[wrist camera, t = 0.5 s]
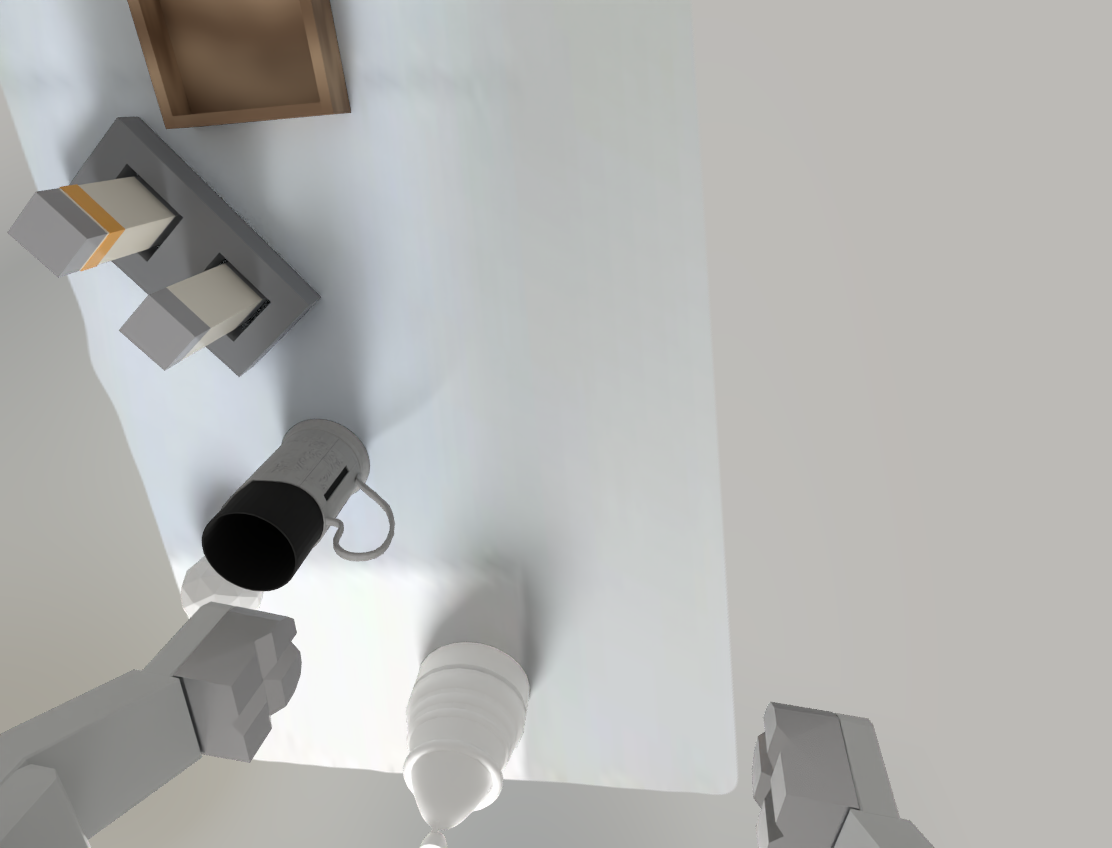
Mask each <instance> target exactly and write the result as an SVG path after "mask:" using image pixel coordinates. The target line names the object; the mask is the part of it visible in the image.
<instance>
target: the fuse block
mask: <svg viewBox="0 0 1112 848" xmlns="http://www.w3.org/2000/svg"><path fill="white" fill-rule="evenodd" d="M137 174H138V175H139V176H140V177H141V178H142V179H144V180H145V181H146V182H147V183H148V184H149V185H150V186H151V187H152V188H153V189H154V190H155V191H156V192H157V193H158V194H159V195H160V196H161V197H162V198H163V199H164V200H165V201H166V202H167V203H168V204H170V205H171V206H172V207H173V208H174V209H175V210H176V211H177V212H178V213H179V214H180V215H181V216H182V217H183V219H182V220H181V221H180V223H179V224H178V225H177V226H176V227H175V229H174V230H173V231H172V232H171V234H170V235H169V236H168V237H167V238H166V240H165V241H164V242H163V243H162V245H161V246H160V247H159V248H157V247H153V248H150V249H146V250H143V251H140V252H137V253H134V254H131V255H127V256H124V257H121V258H118V259H115V260H112V262H113V263H114V264H115V265H116V266H117V267H119V268H120V269H121V270H122V271H123V272H124V273H125V274H126V275H127V276H128V277H130V278H131V279H132V280H133V281H134V282H135V283H136V284H137V285H138V286H139V287H141V288H142V289H143V290H144V291H145V292H146V293H147V294H148V295H149V294H151V293H154V292H156V291H159V290H161V289H164V288H166V287H168V286H171V285H173V284H176V283H178V282H180V281H183V280H185V279H188V278H190V277H193V276H195V275H197V274H200V273H202V272H205V271H207V270H209V269H212V268H214V267H217V266H218V265H219V264H220V263H221V262H222V261H223V260H224V259H225V258H226V259H227V260H228V261H229V262H230V263H231V264H232V265H233V266H234V267H235V268H236V269H237V270H238V271H239V272H240V273H241V274H242V275H243V276H244V277H245V278H247V279H248V280H249V281H250V282H251V283H252V284H253V285H254V286H255V287H256V288H257V289H258V290H259V291H260V292H261V293H262V294H263V295H264V296H265V297H266V298H267V299H268V300H269V301H270V302H271V303H270V304H269V305H268V306H267V307H266V308H265V309H264V310H263V311H262V312H261V313H260V314H259V315H258V316H257V318H256V319H255V320H254V321H253V322H252V323H251V324H250V325H249V326H248V327H247V328H246V329H245V330H244V329H243V328H242V327H241V326H239V327H237V328H236V329H234V330H232V331H231V332H229V333H227V334H226V335H224V336H222V337H221V338H219V339H217V340H216V341H214V342H212V343H210V344H209V345H207V346H206V347H207V348H208V349H209V350H210V351H211V352H212V353H213V354H214V355H216V356H217V357H218V358H219V359H220V360H221V361H222V362H223V363H224V364H225V365H227V366H228V367H229V368H230V369H231V370H232V371H233V372H234V373H235V374H236V375H238V376H239V377H240V376H241V375H242V374H244V373H245V372H247V371H248V370H249V369H251V368H252V367H253V366H254V365H255V364H256V363H257V362H258V361H259V360H260V359H261V358H262V357H263V356H264V355H265V354H266V353H267V352H268V351H269V350H270V349H271V348H272V347H273V346H274V345H275V344H276V343H277V342H278V341H279V340H280V339H281V338H282V337H283V336H284V335H285V334H286V333H287V332H288V331H289V330H290V329H291V327H292V326H293V325H294V324H295V323H296V322H297V321H298V320H299V319H300V318H301V317H302V316H303V315H304V314H305V313H306V312H307V311H308V310H309V309H310V308H311V307H312V306H313V305H314V304H315V303H316V302H317V301H318V300H319V299H320V298H321V297H320V296H319V295H318V294H317V293H316V292H315V291H314V290H313V289H312V288H311V287H310V286H309V285H308V284H307V283H306V282H305V281H304V280H303V279H302V278H301V277H300V276H299V275H298V274H297V273H296V272H295V271H294V270H293V269H292V268H291V267H290V266H289V265H288V264H287V263H286V262H285V261H284V260H283V259H282V258H281V257H280V256H279V255H278V254H277V253H276V252H275V251H274V250H273V249H272V248H271V247H270V246H269V245H268V244H267V243H266V242H265V241H264V240H263V239H262V238H261V237H260V236H259V235H258V234H257V233H256V232H255V231H254V230H253V229H252V228H251V227H250V226H249V225H248V224H247V223H245V222H244V221H243V220H242V219H241V218H240V217H239V216H238V215H237V214H236V213H235V212H234V211H233V210H232V209H231V208H230V207H229V206H228V205H227V204H226V203H225V202H224V201H223V200H222V199H221V198H220V197H219V196H218V195H217V194H216V193H215V192H214V191H213V190H212V189H211V188H210V187H209V186H208V185H207V184H206V183H205V182H204V181H203V180H202V179H201V178H200V177H199V176H198V175H197V174H196V173H195V172H194V171H193V170H192V169H191V168H190V167H189V166H188V165H187V164H186V163H185V162H184V161H183V160H182V159H181V158H180V157H179V156H178V155H177V154H176V153H175V152H174V151H173V150H172V149H171V148H170V147H169V146H168V145H167V144H166V143H165V142H164V141H163V140H162V139H161V138H160V137H159V136H158V135H157V134H155V133H154V132H153V131H152V130H151V129H150V128H149V127H148V126H147V125H146V124H145V123H144V122H143V121H142V120H141V119H140V118H139V117H118V118H117V119H116V120H115V121H114V123H113V124H112V126H111V127H110V129H109V130H108V131H107V133H106V134H105V136H104V137H103V138H102V140H101V141H100V143H99V144H98V145H97V147H96V148H95V150H94V151H93V152H92V154H91V155H90V157H89V158H88V159H87V161H86V162H85V164H84V165H83V166H82V168H81V169H80V171H79V172H78V173H77V175H76V176H75V178H74V179H73V180H72V182H71V183H70V185H76V184H77V185H82V184H89V183H95V182H101V181H108V180H114V179H120V178H126V177H133V176H136V175H137Z"/></svg>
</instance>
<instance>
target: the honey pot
mask: <svg viewBox="0 0 1112 848" xmlns="http://www.w3.org/2000/svg"><path fill="white" fill-rule="evenodd" d="M529 690H530V685H529V682H528V678H527V675H526V673H525V672H524V670H523V669H522V667H521V666H520V664H518V663H517V662H516V661H515V660H514V659H513V658H512V657H511V656H510V655H508V654H506V653H504V652H503V651H501V650H499V649H497V648H494V647H491V646H488V645H485V644H482V643H473V642H460V643H451V644H448V645H445V646H442V647H439V648H438V649H436V650H435V651H433V652H432V653H430V654H429V655H428V656H427V658H426V659H425V660H424V661H423V662H422V665H421V667H420V670H419V673H418V676H417V679H416V682H415V684H414V687H413V690H412V693H411V696H410V699H409V702H408V705H407V708H406V722H407V749H408V752H409V755H408V756H407V757H406V760H405V763H404V766H403V776H404V779H405V782H406V784H407V786H408V788H409V789H410V790H411V792H412V793H413V794H414V795H415V799H416V803H417V806H418V808H419V810H420V813H421V815H422V817H423V819H424V820H425V821H426V822H427V824H428V825H429V826H431V827H432V829H431V832H430V833H429V834H428V835H427V836H426V837H425V838H424V840H423V841H422V843H421V845H420V848H447V842H446V839H445V837H444V835H443V834H442V833H441V832H439V831H438V830H447V829H450V828H452V827H454V826H456V825H458V824H459V823H461V822H462V821H463V820H464V819H465V818H466V817H467V816H468V815H469V814H470V813H471V812H472V811H476V810H480V809H483V808H484V807H486V806H488V805H490V804H491V803H492V802H493V801H495V800H496V799H497V798H498V796H499V794H500V792H501V790H502V788H503V775H502V771H503V770H504V769H505V767H506V765H507V763H508V761H509V759H510V757H511V755H512V753H513V751H514V749H515V748H516V747H517V746H518V744H519V742H520V740H521V737H522V735H523V733H524V725H525V720H526V714H527V707H528V701H529ZM490 788H491V789H490ZM489 790H490V791H489ZM488 791H489V792H488Z"/></svg>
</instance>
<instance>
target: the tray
mask: <svg viewBox="0 0 1112 848" xmlns="http://www.w3.org/2000/svg"><path fill="white" fill-rule="evenodd" d="M127 1H128V4H129V8H130V11H131V14H132V17H133V21H134V24H135V27H136V31H137V34H138V37H139V41H140V44H141V47H142V51H143V54H144V57H145V61H146V64H147V67H148V71H149V74H150V77H151V81H152V84H153V87H154V91H155V94H156V97H157V101H158V104H159V107H160V111H161V114H162V117H163V121H164V124H165V127H166V129H174V128H189V127H201V126H212V125H223V124H233V123H244V122H255V121H266V120H277V119H287V118H298V117H309V116H320V115H331V114H342V113H351V110H350V104H349V99H348V94H347V89H346V84H345V78H344V73H343V68H342V63H341V58H340V52H339V47H338V42H337V37H336V31H335V26H334V21H333V16H332V11H331V5H330V0H127Z"/></svg>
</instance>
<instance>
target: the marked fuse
mask: <svg viewBox="0 0 1112 848" xmlns="http://www.w3.org/2000/svg"><path fill="white" fill-rule="evenodd" d="M182 219H183V217H182V216H181V215H180V214H179V213H178V212H177V211H176V210H175V209H174V208H173V207H172V206H171V205H170V204H168V203H167V202H166V201H165V200H164V199H163V198H162V197H161V196H160V195H159V194H158V193H157V192H156V191H155V190H154V189H153V188H152V187H151V186H150V185H149V184H148V183H147V182H146V181H145V180H144V179H142V178H141V177H140V176H133V177H126V178H120V179H114V180H108V181H101V182H95V183H89V184H82V185H77V184H76V185H69V186H63V187H60V188H57V189H51V190H45V191H38V192H35V194H34V195H33V196H32V198H31V199H30V201H29V202H28V204H27V205H26V206H25V208H24V209H23V211H22V212H21V214H20V215H19V217H18V218H17V219H16V221H15V222H14V224H13V225H12V227H11V228H10V230H9V231H8V234H9V235H10V236H12V237H13V238H14V239H15V240H16V241H18V242H19V243H20V244H21V245H22V246H23V247H24V248H25V249H26V250H28V251H29V252H30V253H31V254H32V255H33V256H34V257H36V258H37V259H38V260H39V261H40V262H41V263H42V264H44V265H45V266H46V267H47V268H48V269H49V270H51V271H52V272H53V273H54V274H55V275H56V276H57V277H61V276H64V275H68V274H71V273H74V272H77V271H84V270H87V269H90V268H93V267H96V266H97V265H99V264H102V263H105V262H109V261H112V260H115V259H118V258H121V257H124V256H127V255H131V254H134V253H137V252H140V251H143V250H146V249H150V248H153V247H156V246H159V245H162V243H163V242H164V241H165V240H166V238H167V237H168V236H169V235H170V234H171V232H172V231H173V230H174V229H175V227H176V226H177V225H178V224H179V223H180V221H181V220H182Z"/></svg>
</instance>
